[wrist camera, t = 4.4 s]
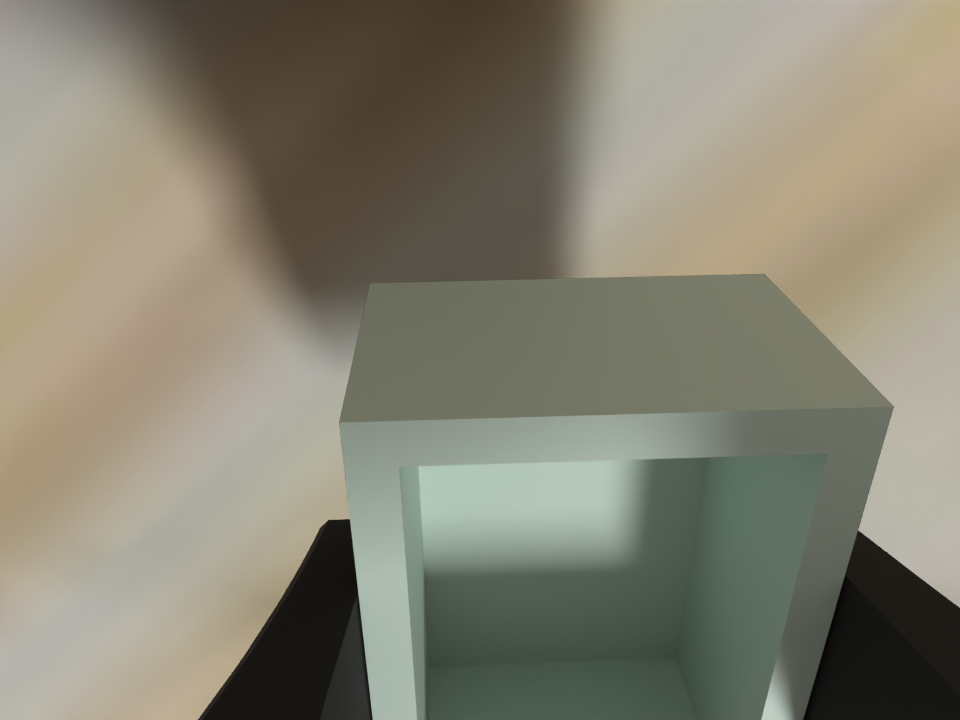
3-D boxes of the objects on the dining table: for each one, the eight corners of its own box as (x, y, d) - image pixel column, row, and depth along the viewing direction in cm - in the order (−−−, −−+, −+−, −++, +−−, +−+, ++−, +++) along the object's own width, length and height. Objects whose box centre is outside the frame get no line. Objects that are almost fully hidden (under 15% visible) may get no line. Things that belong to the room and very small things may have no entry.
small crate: (401, 669, 13) (390, 869, 10) (370, 283, 10) (338, 422, 7) (696, 657, 13) (764, 851, 10) (764, 274, 10) (893, 406, 7)
